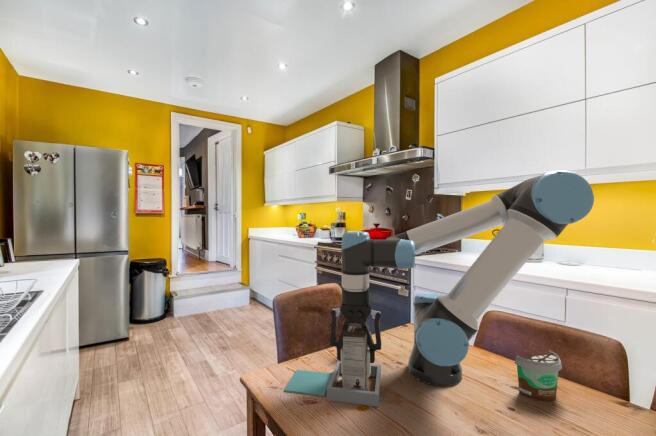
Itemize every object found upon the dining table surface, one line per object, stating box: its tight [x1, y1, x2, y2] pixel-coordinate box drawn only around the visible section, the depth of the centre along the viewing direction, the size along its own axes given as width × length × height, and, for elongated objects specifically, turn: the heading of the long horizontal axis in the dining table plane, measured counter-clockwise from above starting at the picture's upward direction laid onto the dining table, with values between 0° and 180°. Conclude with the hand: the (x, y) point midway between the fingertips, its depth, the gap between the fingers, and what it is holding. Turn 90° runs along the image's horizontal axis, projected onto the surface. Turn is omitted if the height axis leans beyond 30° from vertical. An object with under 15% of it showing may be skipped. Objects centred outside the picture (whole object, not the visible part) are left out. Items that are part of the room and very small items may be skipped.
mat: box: [283, 369, 333, 397], centre depth 85 cm, size 11×11×1 cm
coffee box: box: [341, 323, 369, 391], centre depth 83 cm, size 9×6×16 cm
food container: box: [514, 349, 563, 402], centre depth 78 cm, size 12×6×10 cm, turn 105°
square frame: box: [326, 360, 382, 408], centre depth 83 cm, size 13×15×3 cm
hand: (355, 372), depth 83 cm, fingers open, 6 cm apart
